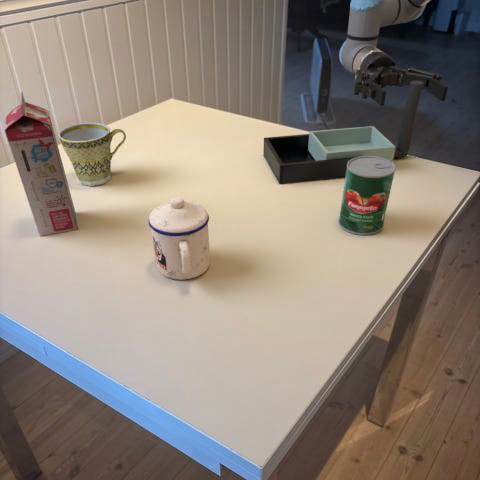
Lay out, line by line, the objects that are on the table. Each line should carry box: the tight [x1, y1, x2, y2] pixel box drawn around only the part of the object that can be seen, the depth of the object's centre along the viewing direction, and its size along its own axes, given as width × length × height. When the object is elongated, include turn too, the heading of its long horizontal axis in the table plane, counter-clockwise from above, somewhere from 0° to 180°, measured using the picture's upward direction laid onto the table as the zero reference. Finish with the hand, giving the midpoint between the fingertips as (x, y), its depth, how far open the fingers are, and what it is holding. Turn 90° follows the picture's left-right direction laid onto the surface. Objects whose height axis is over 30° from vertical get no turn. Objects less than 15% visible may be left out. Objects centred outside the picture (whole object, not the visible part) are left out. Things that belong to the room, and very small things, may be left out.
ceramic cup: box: [57, 122, 127, 187], centre depth 100 cm, size 13×10×10 cm
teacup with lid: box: [148, 196, 211, 281], centre depth 74 cm, size 12×9×12 cm
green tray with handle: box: [308, 81, 424, 164], centre depth 103 cm, size 21×12×15 cm, turn 101°
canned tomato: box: [338, 156, 396, 236], centre depth 84 cm, size 8×8×11 cm
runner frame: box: [263, 133, 356, 185], centre depth 105 cm, size 18×15×4 cm
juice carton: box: [4, 91, 79, 237], centre depth 82 cm, size 7×7×22 cm
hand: (414, 96), depth 101 cm, fingers open, 13 cm apart
